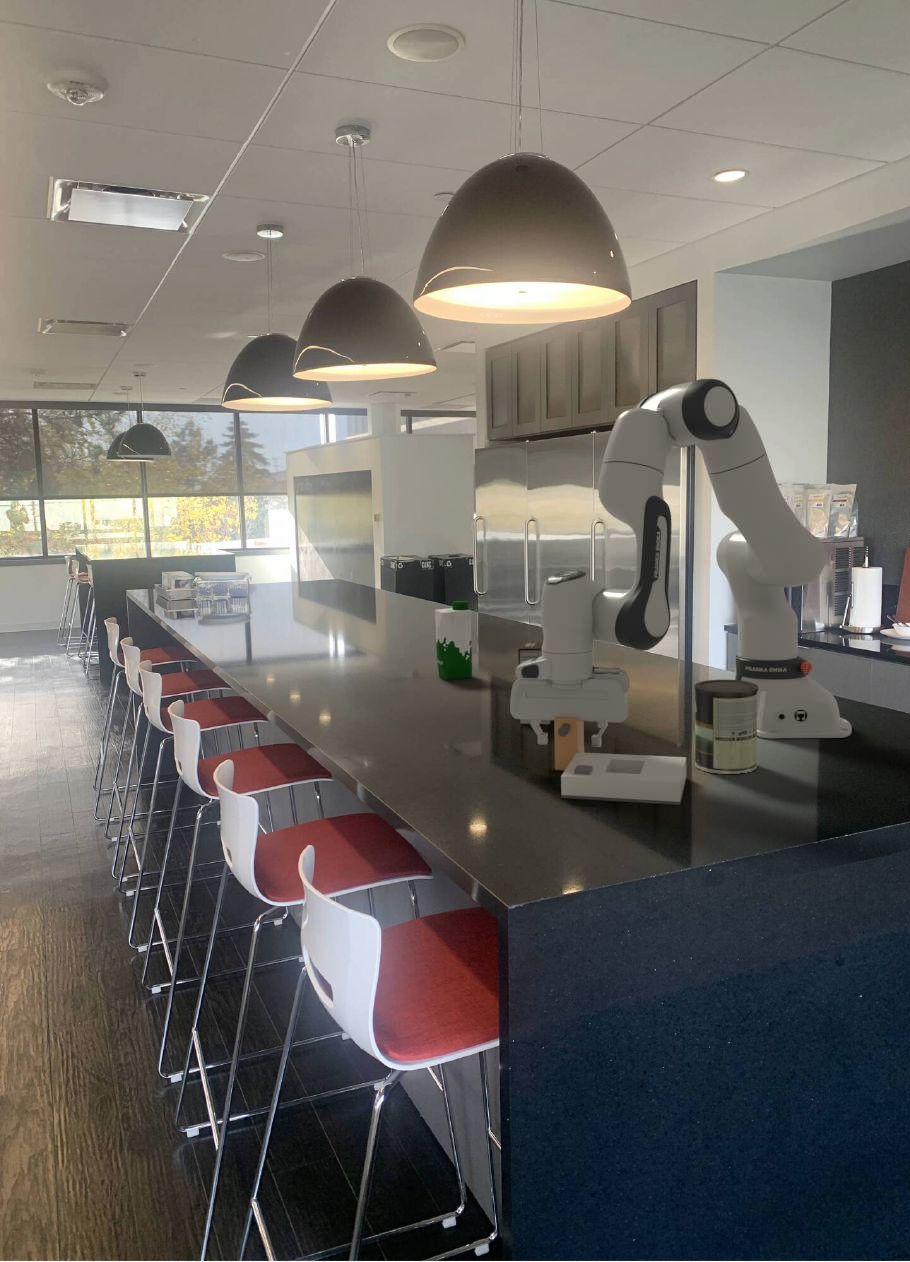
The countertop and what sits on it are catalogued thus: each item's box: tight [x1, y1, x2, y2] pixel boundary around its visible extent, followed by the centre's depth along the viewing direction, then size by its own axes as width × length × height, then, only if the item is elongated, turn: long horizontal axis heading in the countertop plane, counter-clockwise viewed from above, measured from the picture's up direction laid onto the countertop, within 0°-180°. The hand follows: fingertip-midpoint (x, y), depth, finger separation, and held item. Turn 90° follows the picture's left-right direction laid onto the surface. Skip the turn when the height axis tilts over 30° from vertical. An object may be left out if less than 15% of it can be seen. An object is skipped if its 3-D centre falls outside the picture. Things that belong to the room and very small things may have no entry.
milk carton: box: [434, 600, 473, 681], centre depth 249 cm, size 9×9×20 cm
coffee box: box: [517, 641, 552, 725], centre depth 198 cm, size 9×6×16 cm
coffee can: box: [694, 679, 758, 775], centre depth 159 cm, size 10×10×14 cm
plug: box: [553, 717, 585, 771], centre depth 162 cm, size 4×9×9 cm, turn 163°
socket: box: [560, 752, 687, 806], centre depth 151 cm, size 18×14×4 cm
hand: (569, 744), depth 164 cm, fingers open, 8 cm apart
